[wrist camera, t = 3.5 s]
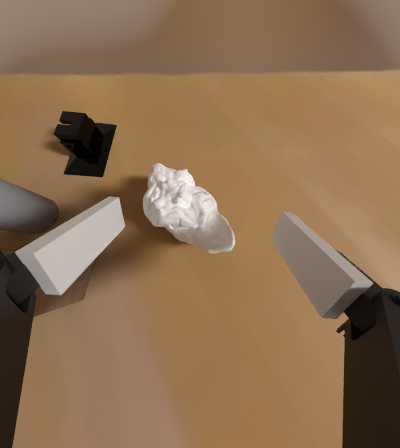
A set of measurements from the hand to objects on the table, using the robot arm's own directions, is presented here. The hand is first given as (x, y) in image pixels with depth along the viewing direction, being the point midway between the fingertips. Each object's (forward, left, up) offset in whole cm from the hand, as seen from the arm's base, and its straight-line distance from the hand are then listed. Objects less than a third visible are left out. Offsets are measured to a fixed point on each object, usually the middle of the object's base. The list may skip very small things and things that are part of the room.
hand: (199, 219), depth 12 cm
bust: (-1, +2, -7) cm, 8 cm away
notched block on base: (-17, +12, -8) cm, 22 cm away
